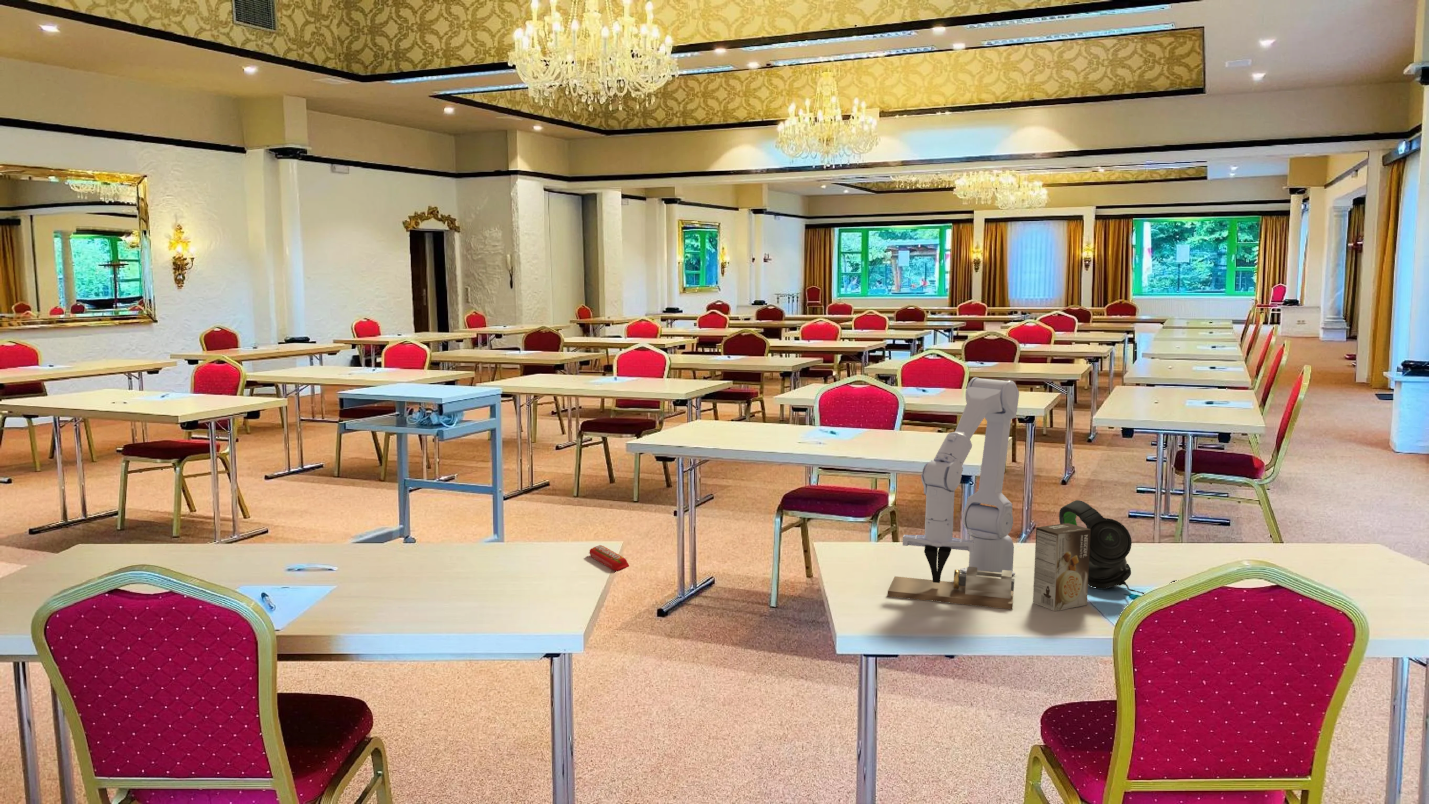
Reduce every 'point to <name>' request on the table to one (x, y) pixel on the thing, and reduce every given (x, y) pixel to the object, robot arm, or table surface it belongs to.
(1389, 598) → the table surface
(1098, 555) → the headset
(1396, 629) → the table surface
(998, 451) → the robot arm
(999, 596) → the board
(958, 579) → the shaft
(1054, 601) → the coffee box
